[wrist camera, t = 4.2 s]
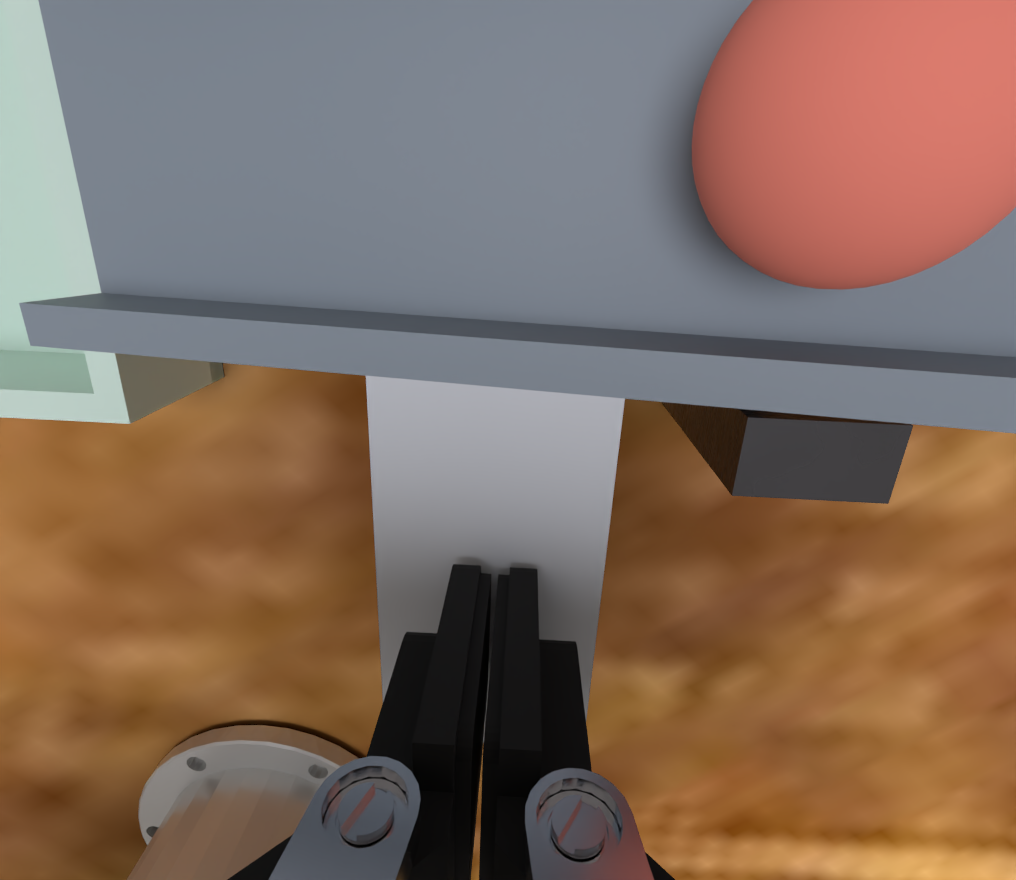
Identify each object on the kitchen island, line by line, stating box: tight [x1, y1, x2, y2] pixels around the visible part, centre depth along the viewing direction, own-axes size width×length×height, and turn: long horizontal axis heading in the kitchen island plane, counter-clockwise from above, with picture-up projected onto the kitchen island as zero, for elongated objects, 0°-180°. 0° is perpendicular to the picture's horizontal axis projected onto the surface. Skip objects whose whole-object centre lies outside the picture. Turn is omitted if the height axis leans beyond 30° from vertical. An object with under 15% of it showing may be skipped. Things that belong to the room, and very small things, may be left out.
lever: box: [19, 0, 1016, 743], centre depth 11 cm, size 16×30×5 cm, turn 88°
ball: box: [692, 0, 1016, 290], centre depth 7 cm, size 4×4×4 cm
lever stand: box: [662, 402, 913, 504], centre depth 13 cm, size 13×5×9 cm, turn 178°
